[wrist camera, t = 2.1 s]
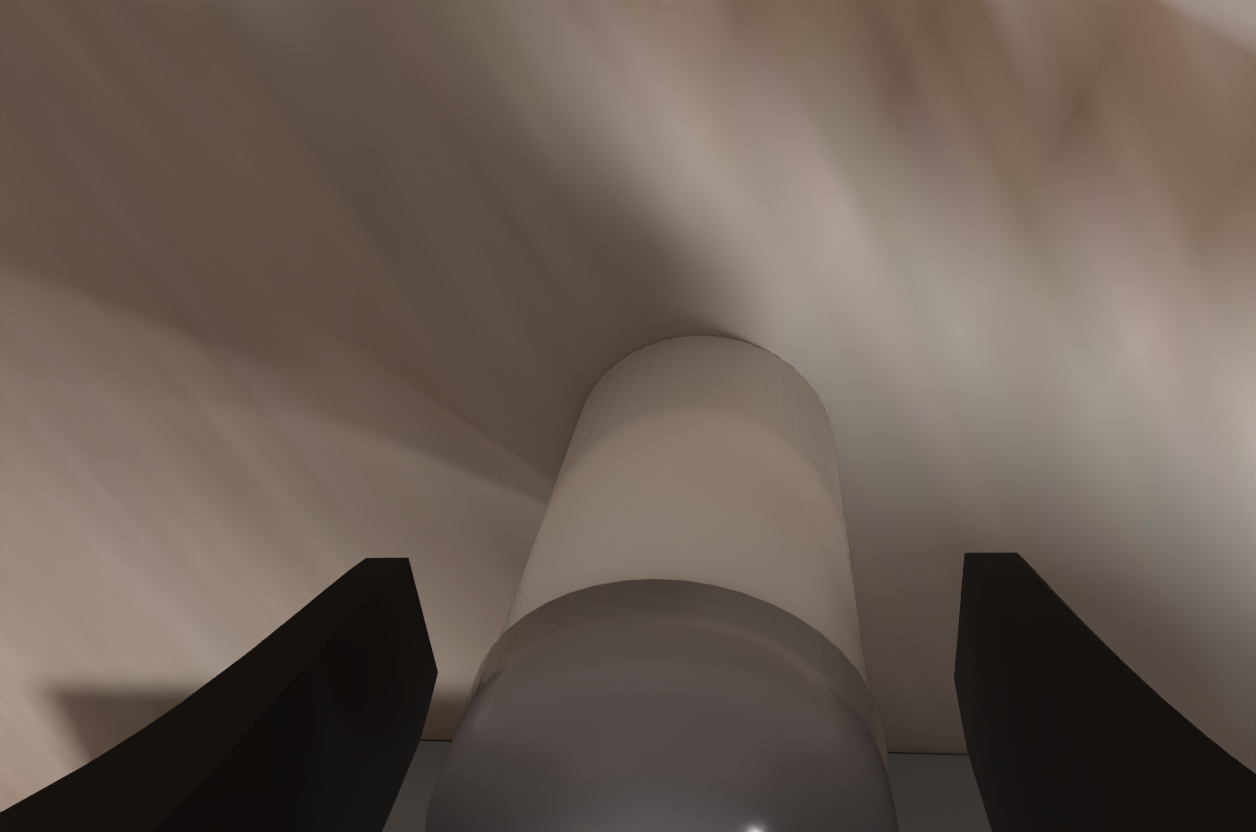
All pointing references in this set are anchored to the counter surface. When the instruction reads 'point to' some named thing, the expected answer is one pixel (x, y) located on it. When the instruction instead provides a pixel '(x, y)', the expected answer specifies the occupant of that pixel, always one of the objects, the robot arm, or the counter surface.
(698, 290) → the counter surface
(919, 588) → the counter surface
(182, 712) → the robot arm
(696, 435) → the shaker
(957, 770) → the tray
